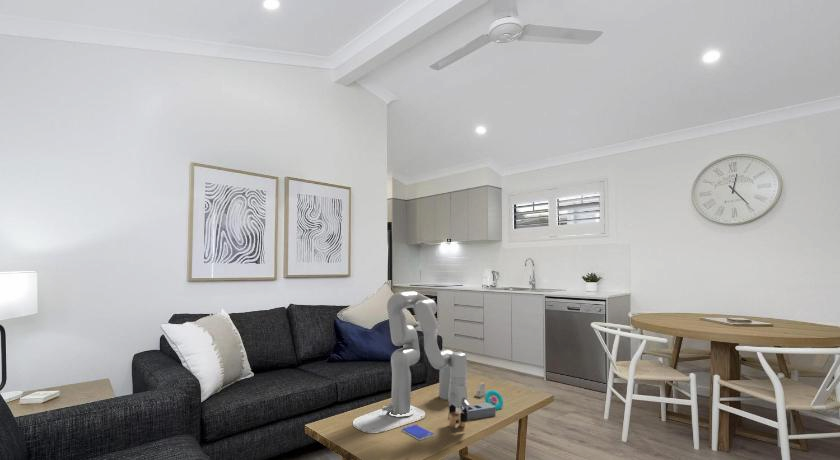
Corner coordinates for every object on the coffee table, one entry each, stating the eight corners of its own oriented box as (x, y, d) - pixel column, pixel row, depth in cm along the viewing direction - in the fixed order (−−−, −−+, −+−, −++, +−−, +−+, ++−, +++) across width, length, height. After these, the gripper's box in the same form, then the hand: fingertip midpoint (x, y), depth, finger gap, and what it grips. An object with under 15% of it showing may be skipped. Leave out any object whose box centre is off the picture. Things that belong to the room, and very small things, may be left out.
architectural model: (474, 396, 240) (474, 383, 240) (480, 393, 245) (480, 380, 246) (479, 398, 238) (480, 384, 238) (485, 395, 243) (485, 382, 244)
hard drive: (434, 433, 184) (415, 424, 193) (420, 437, 178) (402, 428, 188) (434, 436, 184) (415, 427, 193) (420, 441, 178) (401, 432, 187)
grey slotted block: (458, 421, 200) (458, 412, 201) (450, 416, 207) (450, 408, 207) (495, 415, 210) (495, 406, 211) (487, 410, 216) (487, 402, 217)
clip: (451, 429, 191) (451, 414, 191) (448, 427, 193) (448, 412, 194) (466, 426, 194) (466, 412, 195) (462, 424, 197) (463, 410, 197)
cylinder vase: (461, 394, 242) (462, 350, 243) (461, 401, 229) (462, 355, 231) (439, 393, 243) (440, 349, 245) (438, 400, 230) (439, 353, 232)
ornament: (500, 396, 228) (483, 391, 228) (503, 393, 225) (486, 387, 225) (499, 415, 220) (481, 409, 220) (502, 412, 217) (484, 406, 217)
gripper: (442, 376, 201) (441, 413, 200) (461, 386, 186) (461, 425, 184) (455, 374, 205) (455, 410, 203) (475, 384, 189) (475, 423, 188)
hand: (458, 418), depth 194 cm, fingers open, 9 cm apart
